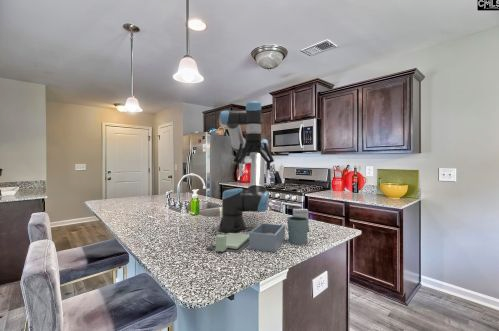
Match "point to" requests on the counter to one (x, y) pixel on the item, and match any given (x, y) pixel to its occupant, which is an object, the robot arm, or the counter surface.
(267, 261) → the counter surface
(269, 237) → the tub
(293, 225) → the teal cup
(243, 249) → the mat
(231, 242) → the lid
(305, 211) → the ink box
